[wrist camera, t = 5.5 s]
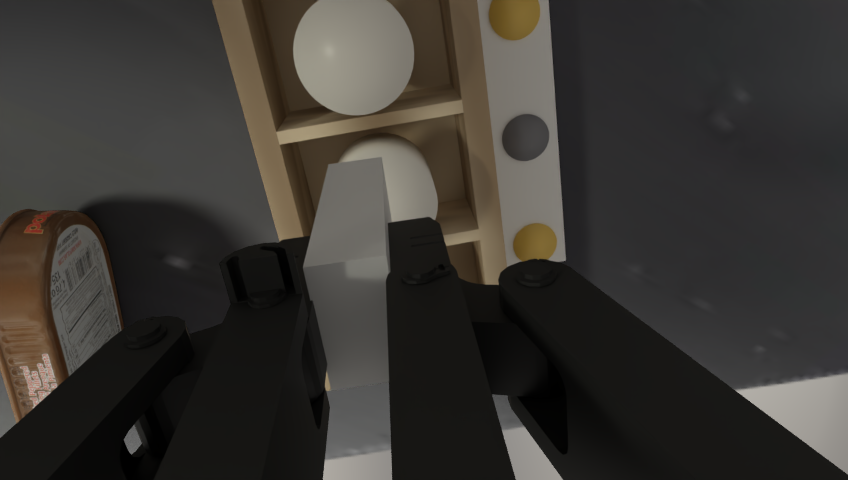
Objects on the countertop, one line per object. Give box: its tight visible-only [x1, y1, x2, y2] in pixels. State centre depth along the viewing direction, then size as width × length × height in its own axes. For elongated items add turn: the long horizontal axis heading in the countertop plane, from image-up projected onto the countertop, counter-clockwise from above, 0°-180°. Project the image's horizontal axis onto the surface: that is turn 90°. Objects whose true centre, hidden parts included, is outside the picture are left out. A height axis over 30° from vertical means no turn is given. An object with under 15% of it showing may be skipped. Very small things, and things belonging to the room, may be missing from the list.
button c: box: [293, 0, 414, 115], centre depth 25 cm, size 5×5×4 cm
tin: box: [0, 209, 124, 423], centre depth 32 cm, size 15×3×8 cm, turn 179°
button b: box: [338, 133, 438, 222], centre depth 28 cm, size 5×5×4 cm
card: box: [477, 0, 566, 267], centre depth 33 cm, size 4×16×1 cm, turn 9°
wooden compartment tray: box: [212, 0, 507, 391], centre depth 31 cm, size 11×22×5 cm, turn 9°
